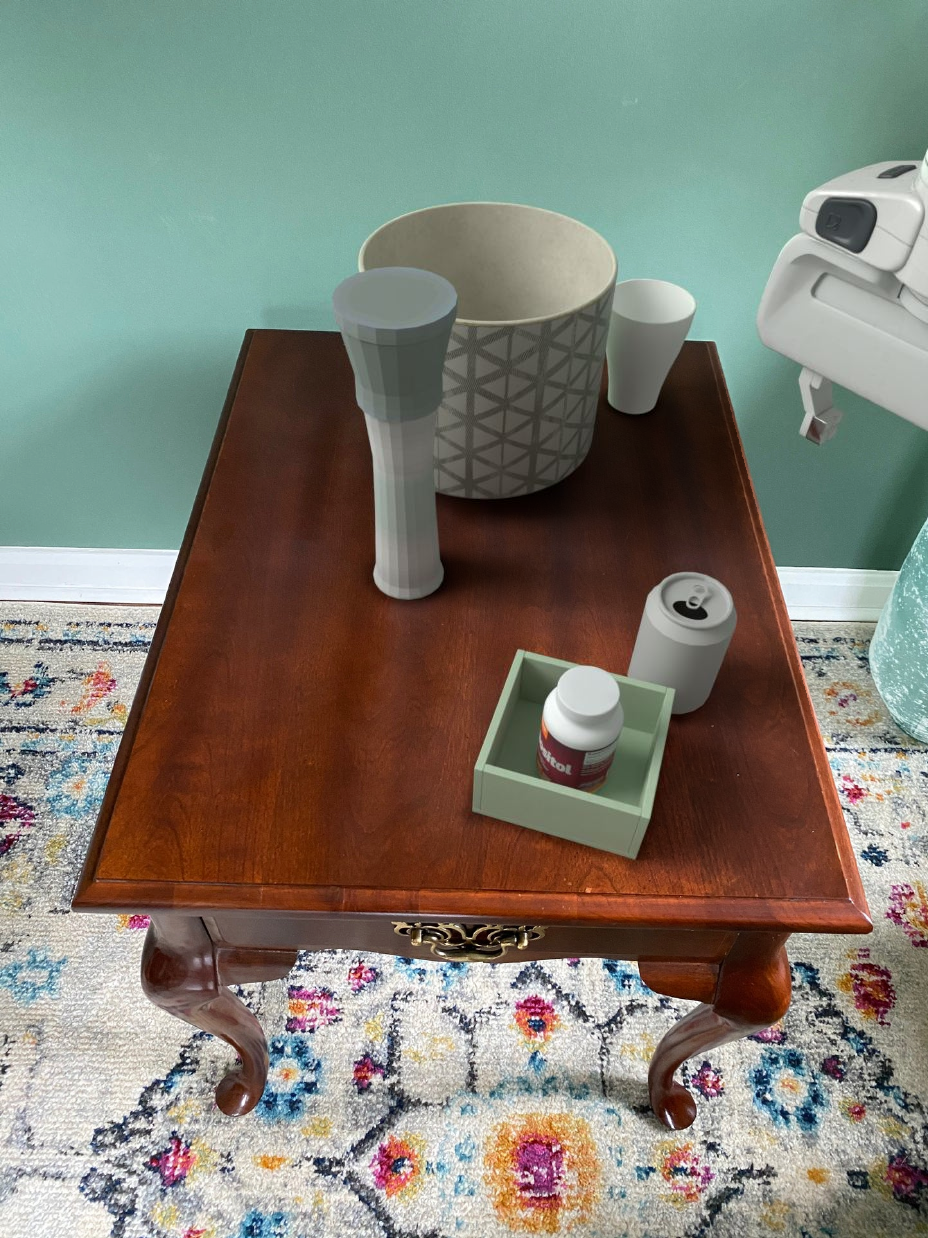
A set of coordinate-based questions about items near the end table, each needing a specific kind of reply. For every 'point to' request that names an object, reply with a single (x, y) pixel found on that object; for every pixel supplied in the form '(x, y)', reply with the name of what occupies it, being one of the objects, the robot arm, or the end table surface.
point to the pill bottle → (580, 729)
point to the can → (684, 637)
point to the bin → (578, 816)
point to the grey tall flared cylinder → (400, 410)
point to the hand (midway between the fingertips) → (883, 475)
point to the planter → (510, 339)
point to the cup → (645, 340)
